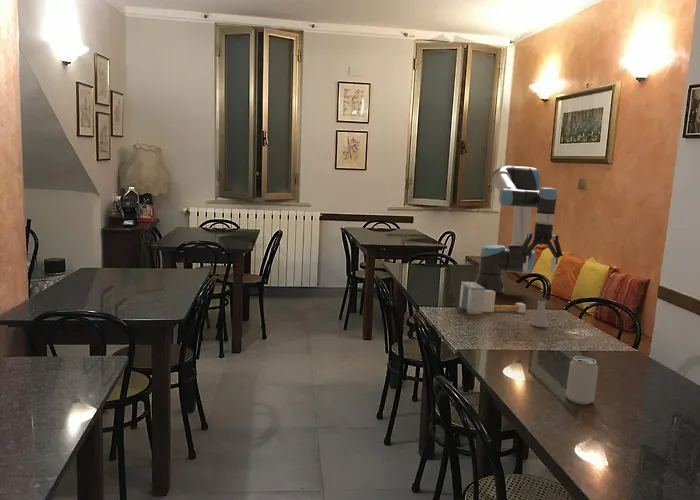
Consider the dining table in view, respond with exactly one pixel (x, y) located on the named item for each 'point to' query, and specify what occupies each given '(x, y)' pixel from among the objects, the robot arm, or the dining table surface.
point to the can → (582, 380)
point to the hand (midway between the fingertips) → (538, 271)
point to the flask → (540, 316)
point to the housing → (472, 297)
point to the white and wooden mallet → (490, 301)
